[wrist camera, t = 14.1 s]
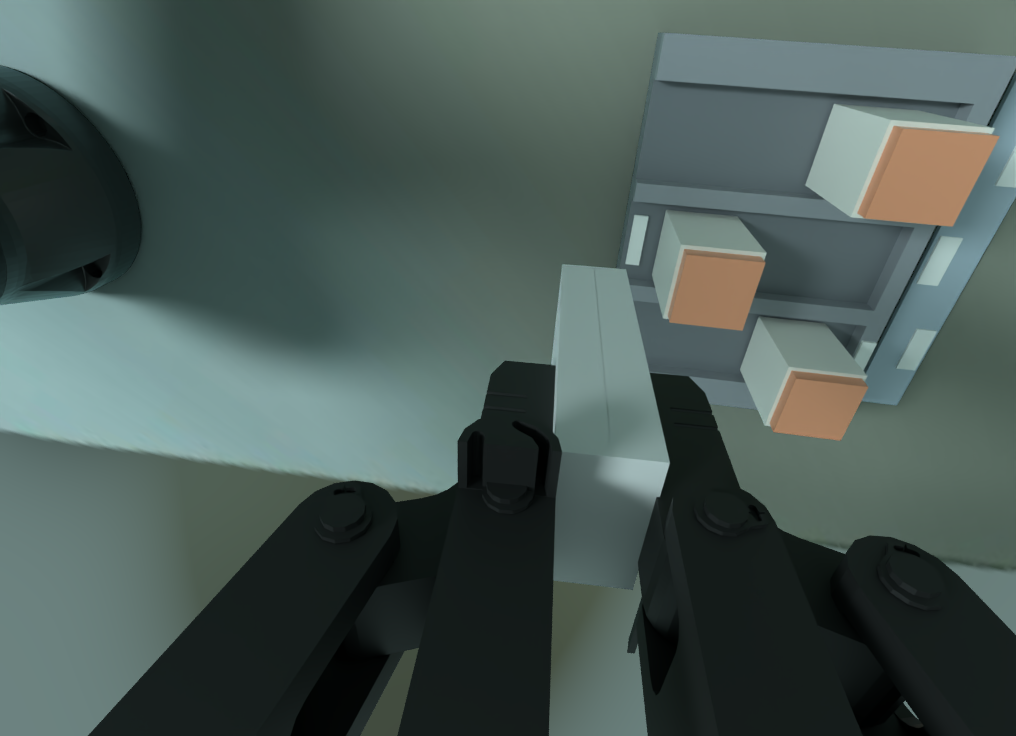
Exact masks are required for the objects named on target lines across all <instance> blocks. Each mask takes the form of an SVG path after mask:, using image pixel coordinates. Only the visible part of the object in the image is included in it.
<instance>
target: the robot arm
mask: <svg viewBox="0 0 1016 736" xmlns="http://www.w3.org/2000/svg"><path fill="white" fill-rule="evenodd" d="M140 237H141V223H140V215H139V209H138V205H137V201H136V198H135V195H134V192H133V189H132V186H131V184H130V182H129V179H128V177H127V175H126V173H125V171H124V169H123V167H122V166H121V164H120V162H119V160H118V159H117V157H116V155H115V154H114V152H113V151H112V149H111V148H110V146H109V145H108V144H107V142H106V141H105V140H104V138H103V137H102V136H101V135H100V133H99V132H98V131H97V130H96V129H95V127H94V126H93V125H92V124H91V123H90V122H89V121H88V120H87V119H86V118H85V117H84V116H83V115H82V114H81V113H80V112H79V111H78V110H77V109H76V108H75V107H74V106H72V105H71V104H70V103H69V102H68V101H66V100H65V99H64V98H63V97H61V96H60V95H59V94H57V93H56V92H55V91H53V90H52V89H50V88H49V87H47V86H46V85H44V84H42V83H41V82H39V81H37V80H35V79H33V78H31V77H29V76H28V75H25V74H23V73H21V72H19V71H16V70H13V69H10V68H7V67H4V66H0V305H5V304H13V303H21V302H29V301H37V300H45V299H53V298H61V297H69V296H76V295H80V294H84V293H87V292H90V291H93V290H95V289H97V288H99V287H101V286H103V285H105V284H107V283H109V282H111V281H113V280H114V279H116V278H118V277H120V276H121V275H122V274H123V273H125V272H126V271H127V270H128V268H129V267H130V266H131V264H132V263H133V261H134V259H135V257H136V255H137V252H138V249H139V244H140ZM717 428H718V426H717V423H716V421H715V418H714V415H712V410H711V407H710V404H709V402H708V399H707V396H706V393H705V392H704V391H703V390H702V389H701V388H700V387H699V386H698V385H697V384H696V383H695V382H694V381H693V380H692V379H691V378H690V377H689V376H681V375H670V374H660V373H649V369H648V364H647V360H646V355H645V351H644V346H643V342H642V338H641V333H640V329H639V324H638V320H637V315H636V311H635V307H634V302H633V298H632V293H631V289H630V285H629V280H628V276H627V271H626V269H616V268H604V267H592V266H580V265H568V264H562V270H561V280H560V289H559V298H558V307H557V316H556V325H555V334H554V343H553V352H552V361H551V365H546V364H535V363H525V362H514V361H504V362H503V363H502V364H501V365H500V366H499V367H498V368H497V369H496V370H495V371H494V372H493V373H492V374H491V377H490V381H489V385H488V390H487V395H486V398H485V403H484V409H483V411H482V415H481V419H478V420H477V421H475V422H474V423H472V424H471V425H470V426H468V427H467V428H465V429H464V431H463V433H462V434H461V436H460V438H459V440H458V483H456V484H455V485H454V486H452V487H451V488H450V489H448V490H445V491H443V492H441V493H439V494H437V495H433V496H429V497H425V498H420V499H414V500H407V501H400V502H395V501H394V500H393V498H392V497H391V496H390V494H389V493H388V491H386V490H385V489H383V488H381V487H379V486H377V485H375V484H373V483H368V482H361V481H347V482H340V483H334V484H332V485H329V486H327V487H325V488H322V489H320V490H317V491H316V492H314V493H313V494H312V495H310V496H309V497H308V498H307V499H305V500H304V501H303V502H302V503H301V504H299V505H298V506H297V508H296V509H295V510H294V511H293V512H292V513H291V514H290V515H289V516H288V517H287V518H286V520H285V521H284V522H283V523H282V524H281V525H280V526H279V527H278V528H277V529H276V530H275V532H274V533H273V534H272V535H271V536H270V537H269V538H268V539H267V541H265V543H264V544H263V545H262V546H261V547H260V548H259V549H258V550H257V551H256V552H255V554H254V555H253V556H252V557H251V558H250V559H249V560H248V561H247V562H246V563H245V565H243V567H242V568H241V569H240V570H239V571H238V572H237V573H236V574H235V575H234V576H233V578H232V579H231V580H230V581H229V582H228V583H227V584H226V585H225V586H224V587H223V588H222V590H221V591H220V592H219V593H218V594H217V595H216V596H215V597H214V598H213V599H212V600H211V602H210V603H209V604H208V605H207V606H206V607H205V608H204V609H203V610H202V611H201V613H200V614H199V615H198V616H197V617H196V618H195V619H194V620H193V621H192V622H191V624H190V625H189V626H188V627H187V628H186V629H185V630H184V631H183V632H182V633H181V634H180V636H179V637H178V638H177V639H176V640H175V641H174V642H173V643H172V644H171V645H170V646H169V648H168V649H167V650H166V651H165V652H164V653H163V654H162V655H161V656H160V657H159V659H158V660H157V661H156V662H155V663H154V664H153V665H152V666H151V667H150V668H149V669H148V671H147V672H146V673H145V674H144V675H143V676H142V677H141V678H140V679H139V680H138V682H137V683H136V684H135V685H134V686H133V687H132V688H131V689H130V690H129V691H128V692H127V694H126V695H125V696H124V697H123V698H122V699H121V700H120V701H119V702H118V703H117V704H116V706H115V707H114V708H113V709H112V710H111V711H110V712H109V713H108V714H107V715H106V717H105V718H104V719H103V720H102V721H101V722H100V723H99V724H98V725H97V727H95V729H94V730H93V731H92V732H91V733H90V734H89V735H88V736H360V735H361V732H362V731H363V729H364V727H365V725H366V723H367V721H368V720H369V718H370V716H371V714H372V712H373V710H374V708H375V706H376V704H377V702H378V700H379V698H380V697H381V695H382V693H383V691H384V689H385V687H386V685H387V683H388V681H389V679H390V677H391V676H392V673H393V672H394V670H395V668H396V666H397V664H398V662H399V660H400V658H401V657H402V655H403V653H404V651H406V650H411V649H415V648H419V650H418V654H417V658H416V662H415V666H414V670H413V674H412V679H411V683H410V687H409V691H408V695H407V699H406V703H405V707H404V712H403V715H402V719H401V724H400V728H399V732H398V736H549V707H550V674H551V638H552V606H553V580H555V581H563V582H572V583H579V584H588V585H596V586H605V587H613V588H622V589H631V590H633V587H634V584H635V580H636V577H637V573H638V570H639V577H640V585H641V593H642V598H641V601H640V604H639V608H638V611H637V614H636V617H635V620H634V624H633V627H632V630H631V633H630V636H629V642H628V650H627V652H628V653H635V650H636V647H637V644H638V646H639V657H640V666H641V675H642V685H643V695H644V704H645V714H646V723H647V732H648V736H1016V635H1015V634H1014V633H1013V632H1012V631H1011V630H1010V629H1009V628H1008V627H1007V626H1006V625H1005V623H1003V621H1002V620H1001V619H1000V618H999V617H998V616H997V615H996V614H995V613H994V612H993V611H992V610H991V609H990V608H989V607H988V606H987V605H986V604H985V603H984V602H983V601H982V600H981V599H980V598H979V597H978V595H976V593H975V592H974V591H973V590H972V589H971V588H970V587H969V586H968V585H967V584H966V583H965V582H964V581H963V580H962V579H961V578H960V577H959V576H958V575H957V574H956V573H955V572H953V571H952V570H951V569H950V568H949V567H947V566H946V565H945V564H944V563H943V562H941V561H940V560H939V559H938V558H936V557H934V556H933V555H931V554H929V553H927V552H926V551H924V550H922V549H920V548H918V547H917V546H915V545H913V544H910V543H907V542H904V541H901V540H898V539H895V538H892V537H883V536H867V537H864V538H861V539H858V540H855V541H854V542H853V544H852V545H851V547H850V548H849V549H848V551H847V552H846V554H843V553H840V552H837V551H835V550H832V549H829V548H826V547H823V546H820V545H818V544H815V543H812V542H809V541H806V540H803V539H801V538H798V537H796V536H794V535H791V534H789V533H787V532H784V531H782V530H781V529H779V528H778V527H777V525H776V523H775V521H774V519H773V518H772V516H771V515H770V513H769V512H768V510H767V508H766V507H765V506H764V505H763V504H762V503H760V502H759V501H758V500H757V499H756V498H755V497H753V496H752V495H751V494H750V493H748V492H746V491H744V490H742V489H740V486H739V483H738V481H737V478H736V475H735V472H734V470H733V467H732V464H731V462H730V459H729V456H728V453H727V451H726V448H725V445H724V443H723V440H722V437H721V434H720V432H719V431H718V430H717ZM905 700H906V702H907V703H908V705H909V706H910V707H911V708H912V710H913V712H914V713H915V714H916V716H917V717H918V718H919V719H917V718H916V717H915V716H914V715H913V714H912V713H911V712H910V711H909V710H908V709H907V707H906V706H905V705H904V703H903V702H904V701H905Z"/></svg>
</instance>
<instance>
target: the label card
mask: <svg viewBox="0 0 1016 736" xmlns="http://www.w3.org/2000/svg"><path fill="white" fill-rule="evenodd" d="M988 127H993V128H995V129H994V131H993V133H992V134H993V135H997V136H1000V137H999V139H998V141H997V143H996V145H995V147H994V148H993V150H992V152H991V154H990V156H989V158H988V160H987V162H986V164H985V166H984V168H983V170H982V171H981V173H980V175H979V177H978V179H977V181H976V183H975V185H974V187H973V189H972V191H971V192H970V194H969V196H968V198H967V200H966V202H965V204H964V206H963V208H962V210H961V212H960V213H959V215H958V217H957V219H956V221H955V223H954V225H953V227H951V226H939V225H938V226H937V228H936V230H935V232H934V234H933V236H932V238H931V240H930V242H929V244H928V246H927V248H926V250H925V252H924V254H923V256H922V258H921V260H920V262H919V264H918V266H917V268H916V270H915V272H914V274H913V276H912V278H911V280H910V282H909V284H908V286H907V288H906V290H905V291H904V293H903V295H902V297H901V299H900V301H899V303H898V305H897V307H896V309H895V311H894V313H893V315H892V317H891V319H890V321H889V323H888V325H887V327H886V329H885V331H884V333H883V335H882V337H881V339H880V341H879V343H878V345H877V347H876V349H875V351H874V353H873V355H872V357H871V359H870V360H869V362H868V364H867V366H866V368H865V370H864V372H865V374H866V375H867V378H866V380H865V383H866V384H867V386H868V389H867V391H866V393H865V395H864V397H863V399H862V401H865V402H873V403H881V404H890V405H897V404H898V402H899V400H900V399H901V397H902V395H903V393H904V392H905V390H906V388H907V386H908V385H909V383H910V381H911V379H912V378H913V376H914V374H915V372H916V371H917V369H918V367H919V365H920V364H921V362H922V360H923V358H924V357H925V355H926V353H927V351H928V350H929V348H930V346H931V344H932V343H933V341H934V339H935V337H936V336H937V334H938V332H939V330H940V329H941V327H942V325H943V323H944V322H945V320H946V318H947V316H948V315H949V313H950V311H951V309H952V308H953V306H954V304H955V302H956V301H957V299H958V297H959V295H960V294H961V292H962V290H963V288H964V287H965V285H966V283H967V281H968V280H969V278H970V276H971V274H972V273H973V271H974V269H975V267H976V266H977V264H978V262H979V260H980V259H981V257H982V255H983V253H984V252H985V250H986V248H987V246H988V245H989V243H990V241H991V239H992V238H993V236H994V234H995V232H996V231H997V229H998V227H999V225H1000V224H1001V222H1002V220H1003V218H1004V217H1005V215H1006V213H1007V211H1008V210H1009V208H1010V206H1011V204H1012V203H1013V201H1014V199H1015V197H1016V73H1015V75H1014V77H1013V79H1012V81H1011V83H1010V85H1009V87H1008V88H1007V90H1006V92H1005V94H1004V96H1003V98H1002V100H1001V102H1000V104H999V106H998V108H997V110H996V112H995V114H994V116H993V118H992V120H991V122H990V124H989V126H988Z"/></svg>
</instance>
